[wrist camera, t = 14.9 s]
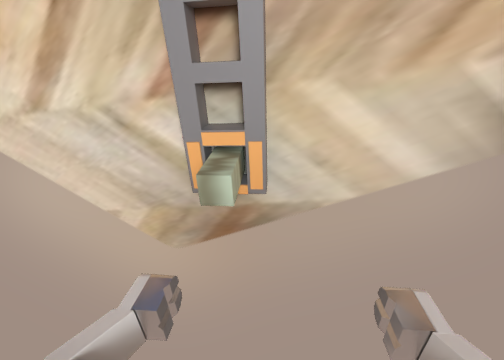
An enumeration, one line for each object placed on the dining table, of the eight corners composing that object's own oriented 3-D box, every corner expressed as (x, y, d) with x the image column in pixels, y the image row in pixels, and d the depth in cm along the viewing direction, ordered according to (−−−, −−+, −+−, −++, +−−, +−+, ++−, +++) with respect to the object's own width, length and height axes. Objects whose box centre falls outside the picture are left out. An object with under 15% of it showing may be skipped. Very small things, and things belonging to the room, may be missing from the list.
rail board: (264, -14, 30) (262, -25, 26) (267, 182, 43) (266, 194, 39) (169, -7, 31) (154, -16, 27) (199, 181, 44) (192, 193, 40)
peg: (243, 144, 40) (231, 175, 29) (245, 168, 42) (233, 206, 31) (217, 144, 40) (195, 175, 30) (220, 168, 42) (200, 205, 32)
